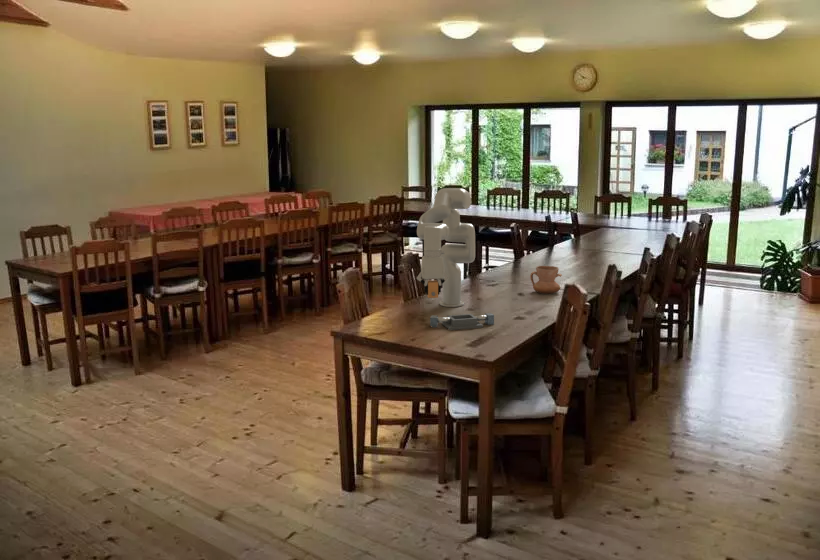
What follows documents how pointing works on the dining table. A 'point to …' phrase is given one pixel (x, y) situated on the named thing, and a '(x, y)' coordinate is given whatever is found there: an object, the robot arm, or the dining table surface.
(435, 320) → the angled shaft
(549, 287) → the ceramic jug
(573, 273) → the dining table surface
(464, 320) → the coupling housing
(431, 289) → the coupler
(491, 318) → the straight shaft
